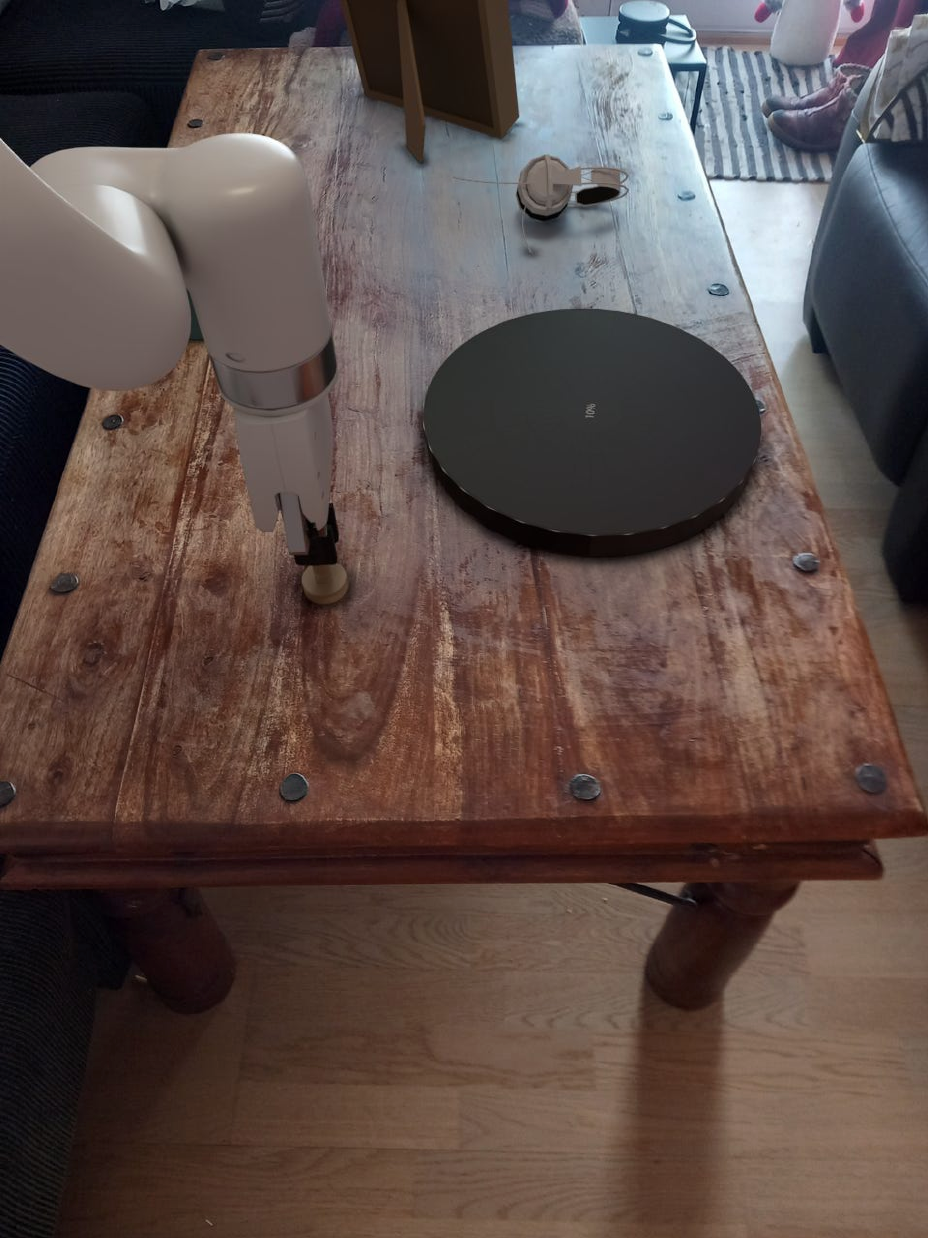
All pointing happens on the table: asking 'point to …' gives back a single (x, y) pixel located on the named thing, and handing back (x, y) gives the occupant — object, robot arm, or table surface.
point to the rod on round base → (325, 583)
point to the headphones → (561, 188)
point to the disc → (591, 431)
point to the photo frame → (437, 62)
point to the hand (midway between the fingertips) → (317, 550)
